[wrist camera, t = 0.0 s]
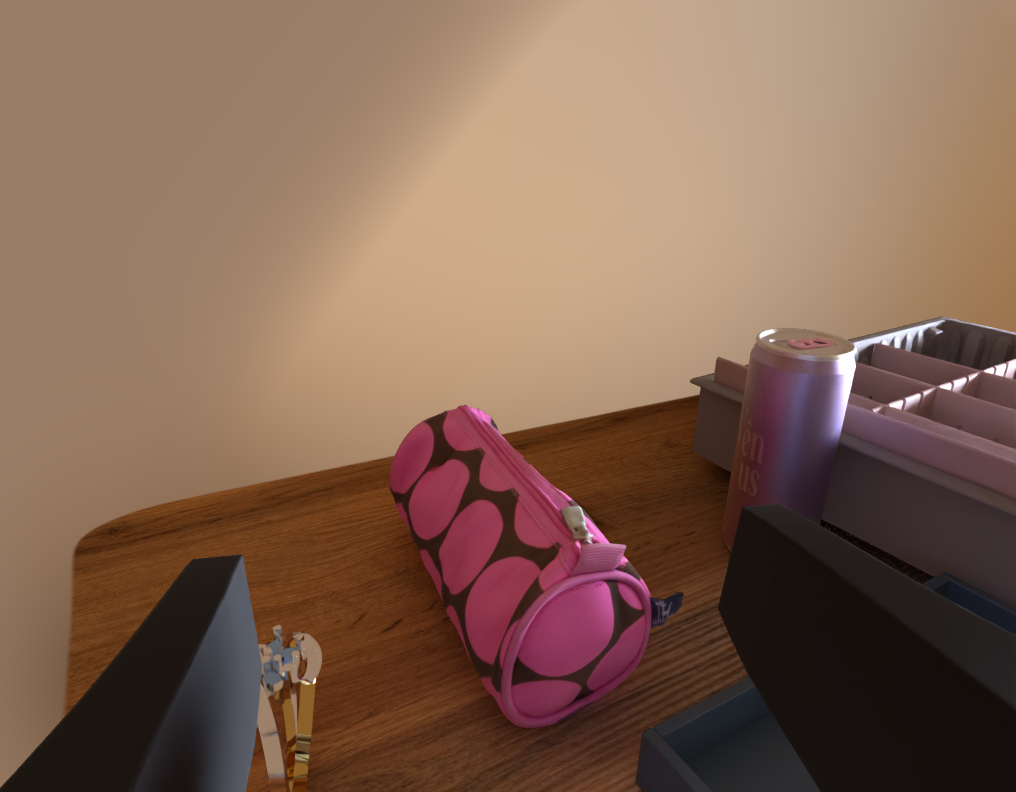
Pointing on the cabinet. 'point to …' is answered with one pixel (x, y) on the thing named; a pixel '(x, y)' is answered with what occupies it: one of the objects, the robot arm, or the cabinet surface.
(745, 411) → the beverage can
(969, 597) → the dish
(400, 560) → the cabinet surface
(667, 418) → the cabinet surface
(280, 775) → the ring
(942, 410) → the organizer tray
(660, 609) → the pencil case
